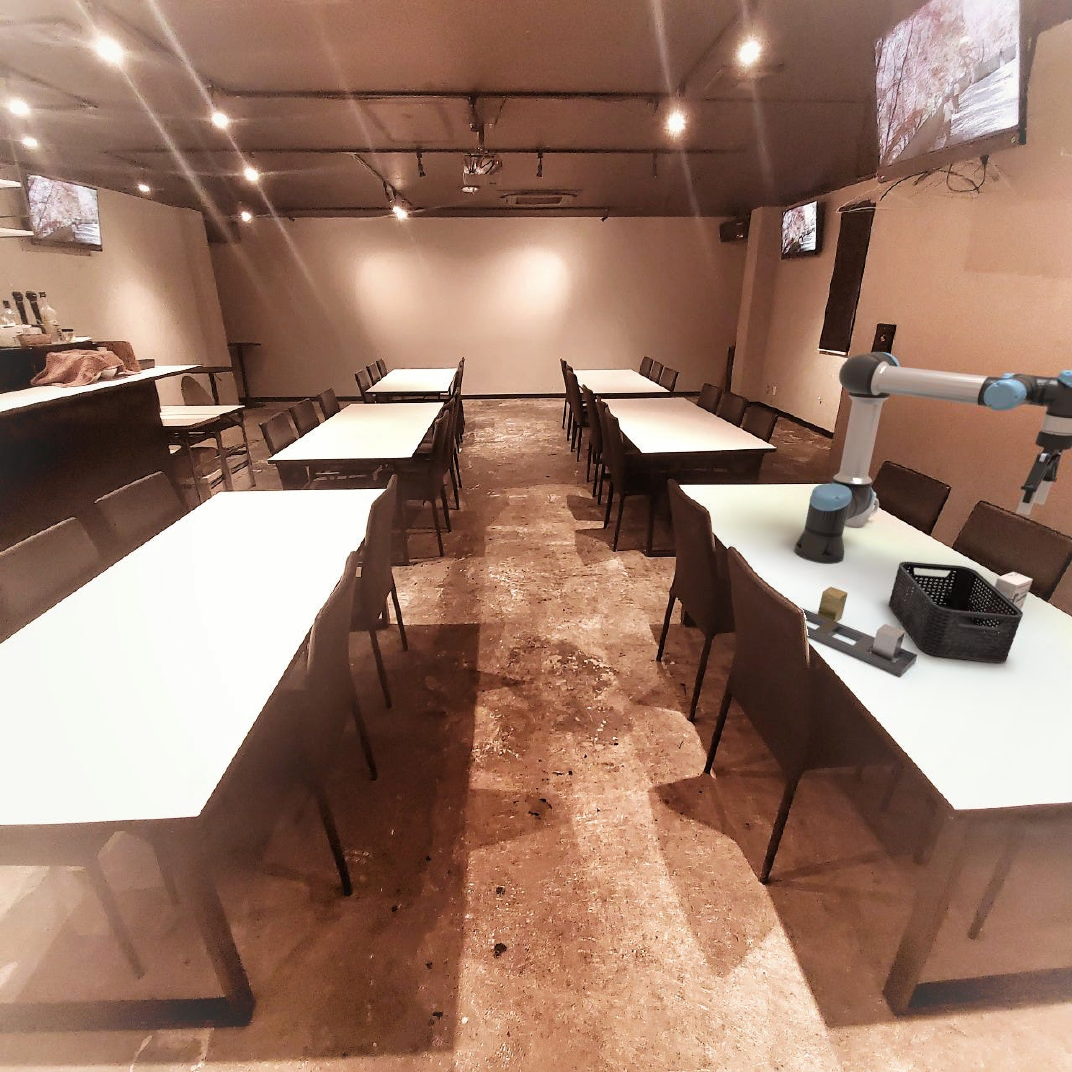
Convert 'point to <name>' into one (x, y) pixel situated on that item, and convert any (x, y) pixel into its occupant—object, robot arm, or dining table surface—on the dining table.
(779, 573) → the dining table surface
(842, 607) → the maple wood beam
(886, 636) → the light grey block
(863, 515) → the mug
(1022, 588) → the ink box
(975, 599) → the storage bin
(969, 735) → the dining table surface
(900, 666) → the rail
